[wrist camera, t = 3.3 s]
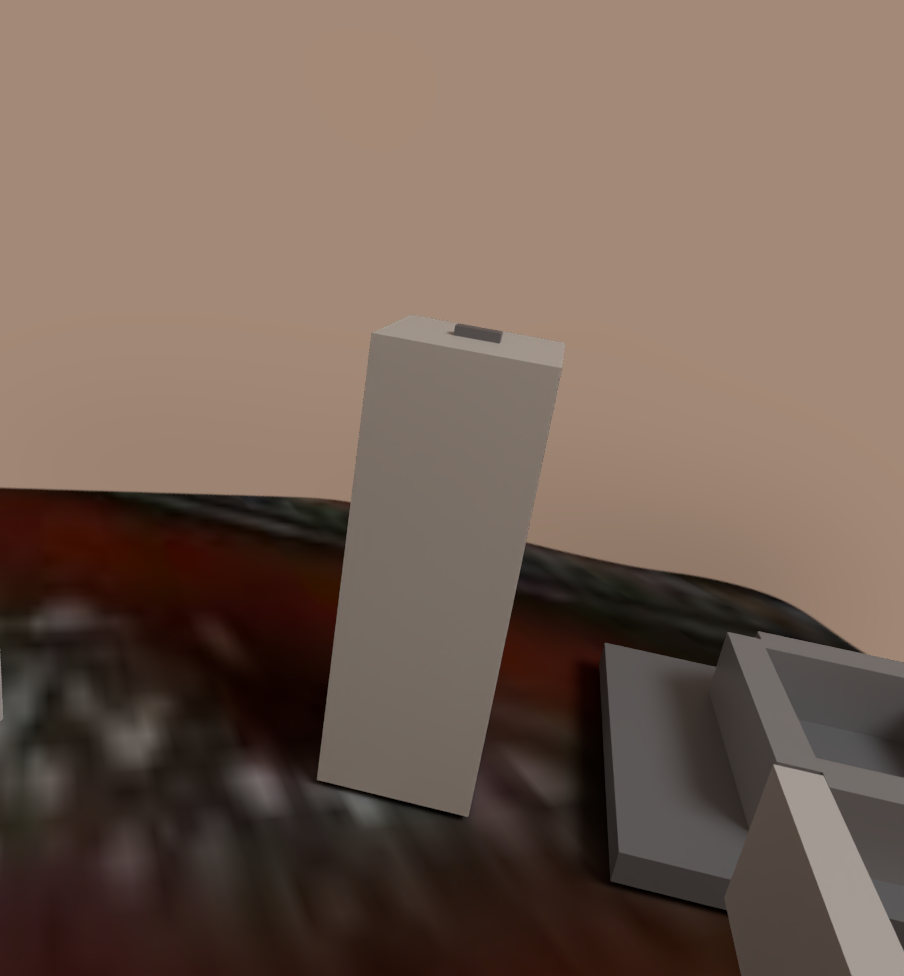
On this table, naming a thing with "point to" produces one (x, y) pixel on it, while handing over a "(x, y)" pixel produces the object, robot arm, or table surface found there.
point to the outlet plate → (747, 757)
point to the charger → (433, 554)
